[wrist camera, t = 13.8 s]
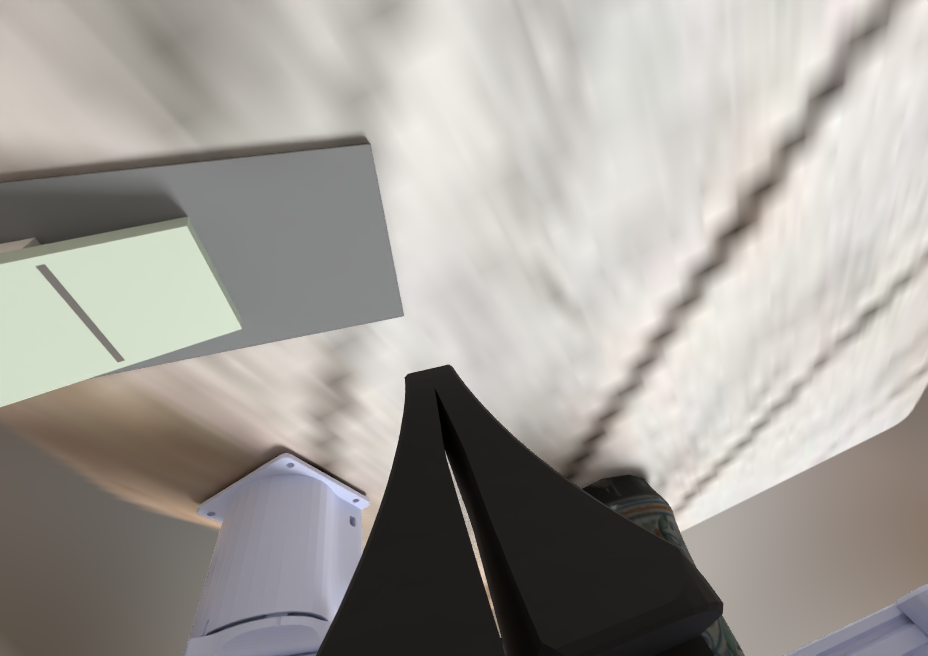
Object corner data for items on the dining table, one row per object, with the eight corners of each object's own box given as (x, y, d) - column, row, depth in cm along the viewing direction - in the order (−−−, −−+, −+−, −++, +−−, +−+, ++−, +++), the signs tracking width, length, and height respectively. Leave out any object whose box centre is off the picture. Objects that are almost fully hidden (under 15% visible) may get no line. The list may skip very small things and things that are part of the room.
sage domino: (186, 226, 14) (-175, 300, 10) (242, 329, 17) (-23, 415, 13) (187, 216, 15) (-136, 279, 11) (239, 314, 18) (-5, 389, 14)
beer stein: (663, 456, 41) (963, 806, 21) (635, 531, 52) (812, 803, 32) (532, 502, 38) (730, 946, 18) (533, 570, 50) (656, 889, 30)
